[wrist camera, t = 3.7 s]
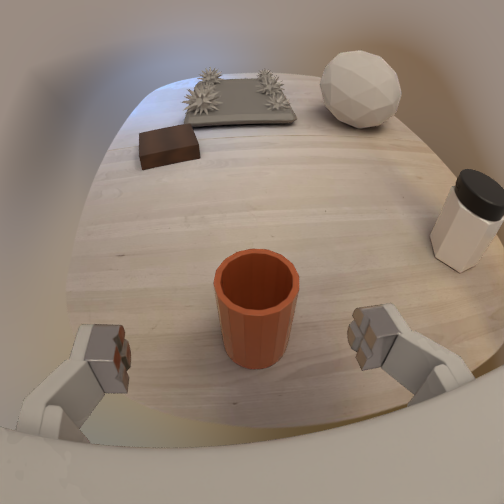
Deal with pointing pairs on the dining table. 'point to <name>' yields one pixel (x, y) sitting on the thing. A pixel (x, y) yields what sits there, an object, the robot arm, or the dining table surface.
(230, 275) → the pot
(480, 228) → the jar
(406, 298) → the dining table surface
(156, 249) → the dining table surface
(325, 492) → the robot arm
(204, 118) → the decorative tray
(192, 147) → the stand
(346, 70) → the sphere
